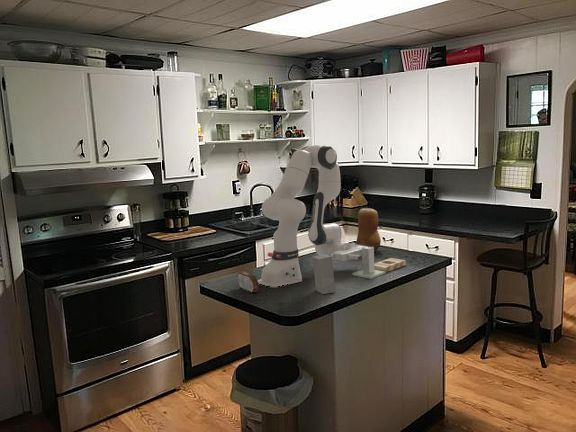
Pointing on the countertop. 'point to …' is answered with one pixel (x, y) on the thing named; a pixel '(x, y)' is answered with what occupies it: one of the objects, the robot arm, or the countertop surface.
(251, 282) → the brown white rounded block
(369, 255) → the white rectangular block
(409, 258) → the countertop surface
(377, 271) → the green mat
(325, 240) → the robot arm
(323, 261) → the skincare box
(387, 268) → the plane body
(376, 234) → the butternut squash
